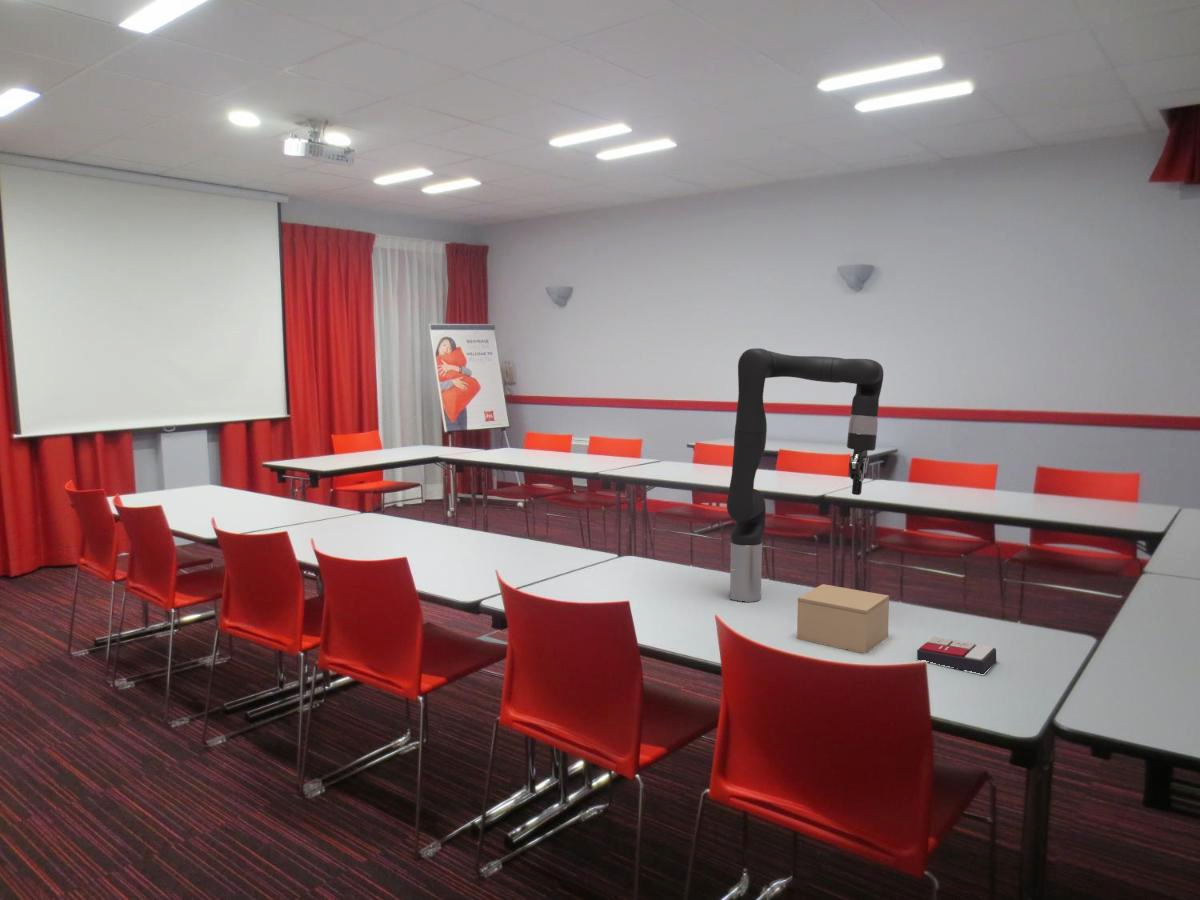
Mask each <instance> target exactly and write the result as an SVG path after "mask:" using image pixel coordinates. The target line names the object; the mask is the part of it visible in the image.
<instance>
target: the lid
mask: <svg viewBox="0 0 1200 900" xmlns="http://www.w3.org/2000/svg"><path fill="white" fill-rule="evenodd" d="M888 599H889V600H890V595H888V594H881V593H876V592H869V591H865V590H859V589H854V588H853V589H852V588H848V587H841V586H836V585H830V584H824V583H822V584H820V585H818V586H816V587H815V588H813V589H811V590H809V591H807V592H806V593H804V594H802V595H800V596H798V597H797V602H798V601H802V602H807V603H812V604H817V605H823V606H828V607H833V608H838V609H843V610H849V611H854V612H859V613H864V614H867V613H869V612H870V611H872V610H873V609H875V608H876V607H877V606H879V605H880V604H882V603H883V602H885V601H886V600H888Z"/></svg>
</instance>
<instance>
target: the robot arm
mask: <svg viewBox="0 0 1200 900" xmlns="http://www.w3.org/2000/svg"><path fill="white" fill-rule="evenodd" d="M782 377H783V378H796V379H803V380H808V381H812V382H813V381H814V382H820V383H833V384H834V383H847V384H854V385H856V387H855V394H854V396H853V397H852V402H851V410H850V411H851V412H850V419H849V420H848V421H849V422H848V431H847V442H846V448H847V449H850V450H853V453H852V455H851V456H850V461H849V463H848V465H849V466H848V467H849V476H850V477H849V478H850V480H852V486H851V487H852V488H851V494H852V495H853V496H854V495H857V496H860V495H861V494H862V491H863V490H862V487H863V482H864V480H865V478H867V477H866V476H867V472H868V469H869V465H870V459H869V458H870V457H869V456H868V451H871V452H873V451H875V450H876V444H877V436H878V435H877V433H878V424H879V423H878V418H879V417H878V415H879V403H880V396H881V393H882V387H883V381H884V368H883V365H881V364H880V363H879V362H878V361H876V360H873V359H870V358H869V359H868V358H842V357H833V356H819V355H818V356H817V355H815V356H814V355H808V356H806V355H791V354H790V355H789V354H784V353H779V352H775V351H771V350H767V349H764V348H760V347H759V348H757V347H756V348H749V349H746V350H744V352H743V353H742V354H741V356H740V357H739V359H738V362H737V379H738V381H737V382H738V383H737V384H738V396H737V397H738V398H737V406H736V417H735V426H734V434H733V435H734V437H733V438H734V440H733V454H732V466H731V477H730V483H729V488H728V493H727V498H726V510H727V513H728V515H729V517H730V518H731V519H732V520H733V521H734V522H736V525H735V526H734V529H733V530H732V532H731V534H730V566H729V568H730V569H729V570H730V573H729V574H730V575H729V576H730V583H729V587H730V590H729V591H730V592H729V593H730V594H729V596H730V599H732V601H737V600H738V602H742V601H745V602H744V603H749V602H751V603H752V602H757V601H760V600H761V599H762V562H763V561H762V557H763V553H762V550H763V549H762V548H763V547H762V546H763V536H764V533H765V530H766V529H765V528H766V527H765V526H766V513H767V511H766V507H767V506H766V501H765V498H764V495H763V494H762V492H760V490H757V489H755V487H754V485H755V478H756V473H757V471H758V468H759V466H760V463H761V461H762V458H763V456H764V453H765V449H766V443H767V432H768V431H767V429H768V425H767V422H768V421H767V417H766V416H767V415H766V411H765V410H766V409H765V406H764V405H765V404H764V390H765V382H766V379H770V378H771V379H772V378H782Z"/></svg>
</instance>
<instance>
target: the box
mask: <svg viewBox="0 0 1200 900" xmlns="http://www.w3.org/2000/svg"><path fill="white" fill-rule="evenodd" d="M889 611H890V598H889V599H888V600H886V601H885V602H883V603H882V604H880V605H879V606H877V607H876V608H875V609H873V610H872V611H870V612H869V613H867V614H864V613H859V612H854V611H849V610H843V609H838V608H833V607H828V606H823V605H817V604H812V603H807V602H802V601H798V600H797V616H796V617H797V618H796V619H797V621H796V622H797V630H796V634H797V635H796V639H797V640H800V641H801V640H802V641H805V642H811V643H814V642H816V644H819V643H820V644H821V645H823V644H824V646H828V645H830V646H829V647H832V646H834V647H833V648H837V647H839V648H838V649H841V648H843V649H842V650H846V649H848V651H850V650H852V651H851V652H855V651H858V652H857V653H859V652H862V653H861V654H863V653H866V652H867V653H869V652H870V651H871V650H872V649H873V647H874V648H875V647H876V646H877V645H878V644H880V643H881V642H883V640H885V639H886V638H887V637H889V614H890V612H889ZM825 644H826V645H825ZM869 650H870V651H869ZM867 653H866V654H867Z"/></svg>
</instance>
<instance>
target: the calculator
mask: <svg viewBox="0 0 1200 900" xmlns="http://www.w3.org/2000/svg"><path fill="white" fill-rule="evenodd" d="M917 659H918V660H926V661H929V662H928V663H927V664H930V662H933V663H936V664H940V665H945V666H950V667H954V668H958V669H963V670H967V671H972V672H976V673H980V674H984V673H985V672H986V671H987V670H988V669H989V668H990V667H991V666H992V665H993V664H994V663H995V662H996V663H997V649H996V648H995V647H994V646H990V645H989V646H988V645H983V644H976V643H975V642H969V641H963V640H953V639H949V638H943V637H937V636H933V637H931V638H930V639H928V640H927V641H926V642H925V643H924V644H922V645H921V646H920V647H919V648H917V650H916V660H917ZM918 660H917V661H918ZM996 663H995V664H996ZM995 664H994V665H995ZM994 665H993V666H994ZM993 666H992V667H993ZM992 667H991V668H992ZM958 669H957V670H958ZM963 670H962V671H963Z"/></svg>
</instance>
